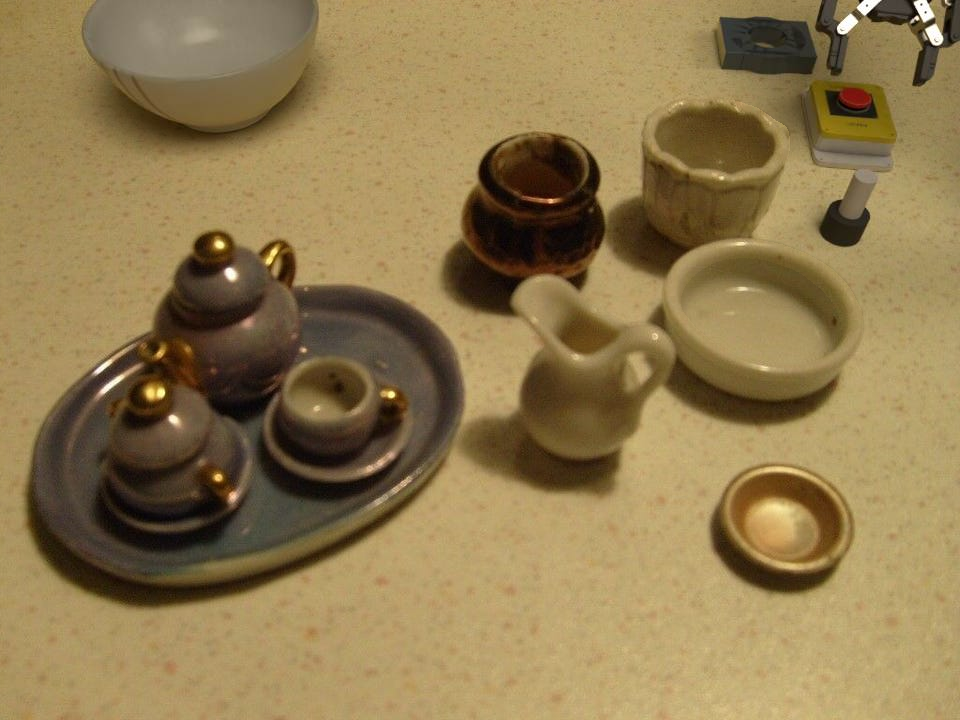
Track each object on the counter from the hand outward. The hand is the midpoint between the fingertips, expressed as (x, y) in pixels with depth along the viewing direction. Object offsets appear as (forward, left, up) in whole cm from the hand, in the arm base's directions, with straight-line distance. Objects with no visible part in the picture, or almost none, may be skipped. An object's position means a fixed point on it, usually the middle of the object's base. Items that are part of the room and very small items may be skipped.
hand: (877, 79), depth 91 cm
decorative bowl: (+75, -7, -13) cm, 77 cm away
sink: (+5, -26, -13) cm, 30 cm away
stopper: (+1, +10, -13) cm, 16 cm away
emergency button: (-3, -9, -13) cm, 17 cm away
